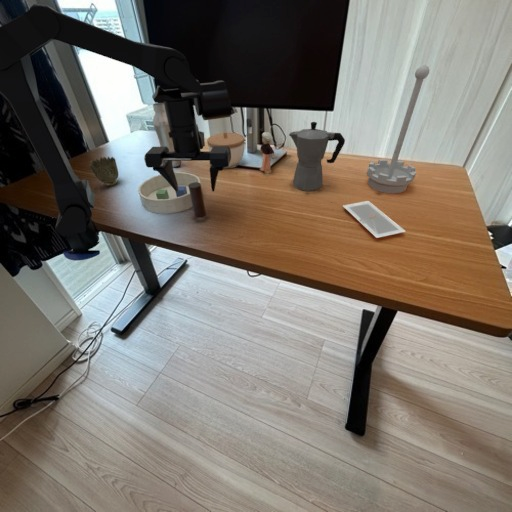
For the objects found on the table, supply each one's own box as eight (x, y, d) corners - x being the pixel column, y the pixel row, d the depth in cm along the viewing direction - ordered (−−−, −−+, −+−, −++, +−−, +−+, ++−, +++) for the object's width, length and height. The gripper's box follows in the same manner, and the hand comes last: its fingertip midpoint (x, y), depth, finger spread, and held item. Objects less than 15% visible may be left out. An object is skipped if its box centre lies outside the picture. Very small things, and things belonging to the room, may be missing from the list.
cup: (101, 182, 89) (90, 158, 84) (124, 178, 91) (115, 154, 85) (98, 192, 84) (86, 167, 78) (123, 188, 85) (113, 163, 80)
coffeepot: (283, 188, 82) (285, 125, 70) (289, 175, 89) (293, 116, 77) (334, 195, 78) (347, 129, 66) (337, 180, 85) (349, 119, 73)
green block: (166, 201, 77) (164, 193, 75) (158, 201, 77) (155, 193, 76) (169, 197, 79) (167, 189, 77) (160, 197, 79) (158, 189, 77)
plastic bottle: (162, 164, 99) (146, 103, 86) (181, 161, 101) (168, 100, 87) (164, 171, 94) (148, 107, 81) (184, 167, 96) (170, 105, 83)
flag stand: (412, 197, 76) (463, 69, 56) (363, 191, 79) (395, 68, 59) (408, 178, 85) (451, 61, 65) (365, 173, 88) (393, 61, 69)
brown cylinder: (205, 219, 70) (199, 187, 65) (193, 219, 71) (187, 187, 65) (207, 213, 73) (201, 182, 67) (196, 213, 73) (189, 182, 67)
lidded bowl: (223, 175, 90) (219, 141, 83) (204, 164, 98) (199, 132, 90) (252, 164, 96) (251, 132, 89) (232, 155, 104) (229, 124, 96)
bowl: (195, 215, 72) (192, 200, 69) (133, 214, 73) (127, 200, 70) (207, 185, 85) (205, 172, 82) (154, 185, 86) (150, 172, 83)
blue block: (185, 198, 78) (183, 190, 77) (177, 198, 78) (175, 190, 77) (187, 193, 80) (185, 186, 78) (179, 193, 80) (177, 186, 79)
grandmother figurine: (254, 170, 93) (253, 131, 84) (262, 166, 95) (262, 128, 86) (270, 176, 89) (271, 136, 80) (278, 172, 91) (279, 133, 82)
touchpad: (367, 204, 74) (369, 197, 72) (404, 235, 63) (407, 227, 62) (341, 209, 72) (343, 201, 71) (375, 241, 61) (377, 234, 60)
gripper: (231, 112, 62) (236, 176, 72) (152, 113, 63) (168, 176, 73) (224, 127, 54) (231, 197, 64) (133, 128, 55) (154, 196, 65)
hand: (195, 190), depth 67 cm, fingers open, 9 cm apart
